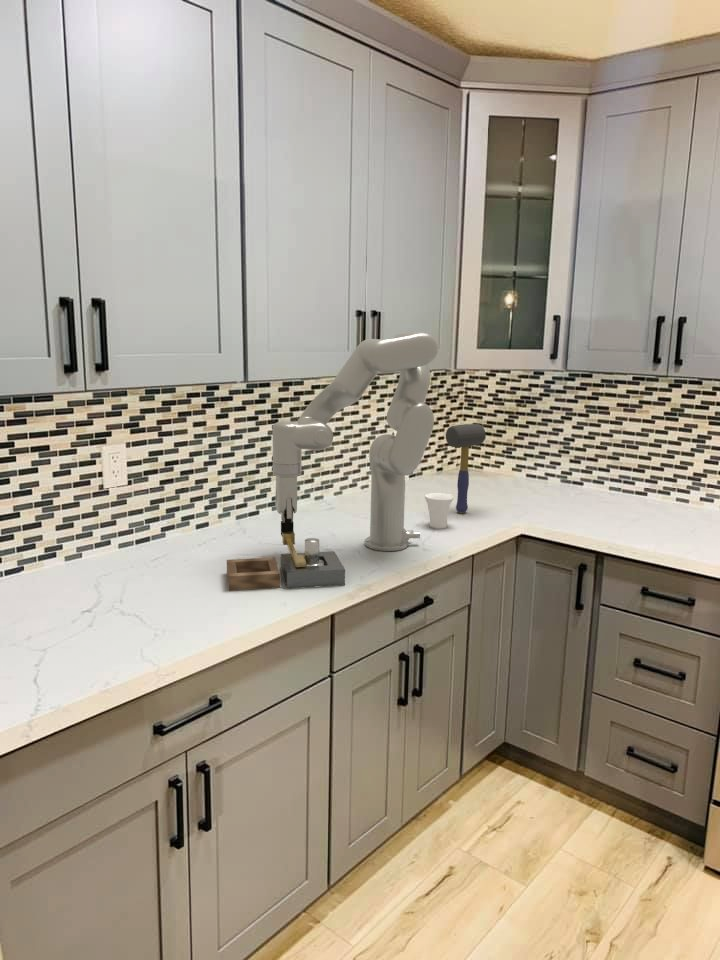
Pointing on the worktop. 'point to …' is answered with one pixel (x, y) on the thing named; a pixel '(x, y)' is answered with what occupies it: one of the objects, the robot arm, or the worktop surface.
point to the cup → (438, 509)
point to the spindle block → (313, 571)
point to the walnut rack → (253, 573)
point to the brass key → (289, 540)
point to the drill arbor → (312, 552)
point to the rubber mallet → (464, 455)
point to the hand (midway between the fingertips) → (287, 535)
